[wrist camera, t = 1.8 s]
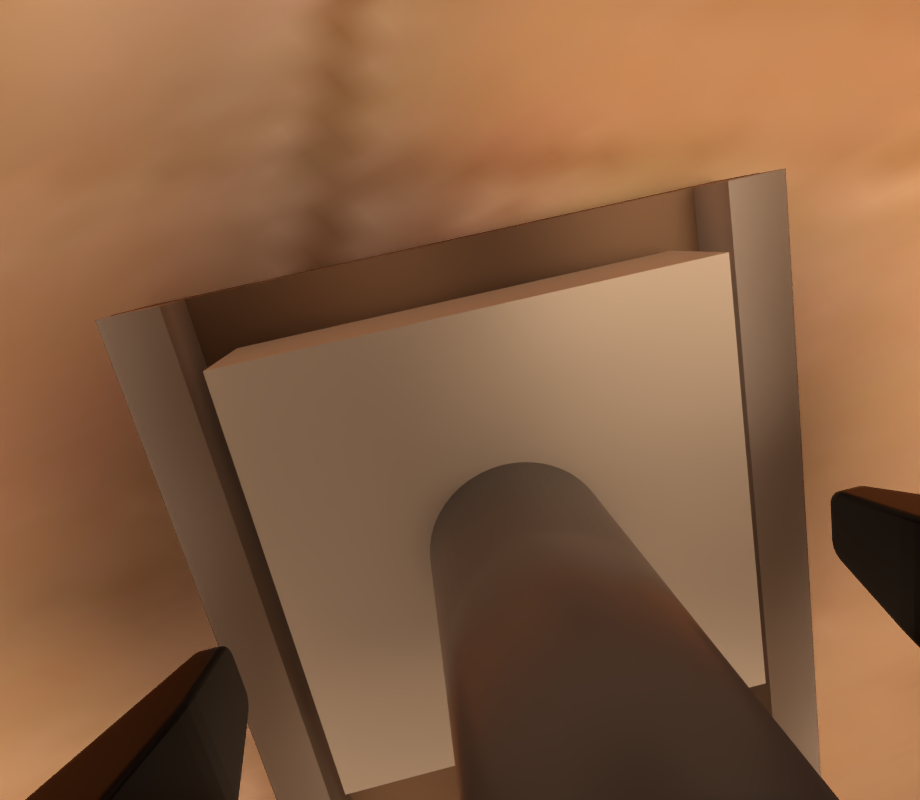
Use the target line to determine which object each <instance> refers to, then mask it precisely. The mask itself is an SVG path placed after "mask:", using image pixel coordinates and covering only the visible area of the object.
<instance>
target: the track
mask: <svg viewBox="0 0 920 800" xmlns="http://www.w3.org/2000/svg"><path fill="white" fill-rule="evenodd" d="M666 251H701V252H729V258H730V270H731V282H732V294H733V305H734V317H735V329H736V341H737V352H738V364H739V376H740V387H741V399H742V411H743V423H744V434H745V446H746V458H747V470H748V481H749V493H750V505H751V516H752V528H753V540H754V552H755V563H756V575H757V587H758V599H759V610H760V622H761V634H762V645H763V657H764V669H765V681H766V683H765V684H761V685H757V686H753V687H750V689H751V691H752V692H753V693H754V694H755V696H756V697H757V698H758V699H759V701H760V702H761V703H762V704H763V706H764V707H765V708H766V709H767V711H768V712H769V713H770V714H771V716H772V717H773V718H774V719H775V721H776V722H777V723H778V724H779V726H780V727H781V728H782V729H783V730H784V732H785V733H786V734H787V735H788V737H789V738H790V739H791V740H792V742H793V743H794V744H795V745H796V747H797V748H798V749H799V750H800V752H801V753H802V754H803V755H804V757H805V758H806V759H807V760H808V762H809V763H810V764H811V765H812V767H813V768H814V769H815V770H816V772H817V773H818V774H819V775H820V777H821V772H820V755H819V737H818V720H817V703H816V686H815V668H814V651H813V634H812V617H811V599H810V582H809V565H808V548H807V531H806V513H805V496H804V479H803V462H802V444H801V427H800V410H799V393H798V375H797V358H796V341H795V324H794V306H793V289H792V272H791V255H790V237H789V220H788V203H787V186H786V168H785V169H780V170H774V171H769V172H764V173H756V174H751V175H746V176H741V177H735V178H730V179H725V180H720V181H715V182H710V183H706V184H701V185H697V186H692V187H688V188H683V189H678V190H674V191H669V192H665V193H660V194H656V195H651V196H647V197H642V198H638V199H633V200H628V201H624V202H619V203H615V204H610V205H606V206H601V207H597V208H592V209H588V210H583V211H578V212H574V213H569V214H565V215H560V216H556V217H551V218H547V219H542V220H538V221H533V222H528V223H524V224H519V225H515V226H510V227H506V228H501V229H497V230H492V231H488V232H483V233H479V234H474V235H469V236H465V237H460V238H456V239H451V240H447V241H442V242H438V243H433V244H429V245H424V246H419V247H415V248H410V249H406V250H401V251H397V252H392V253H388V254H383V255H379V256H374V257H369V258H365V259H360V260H356V261H351V262H347V263H342V264H338V265H333V266H329V267H324V268H319V269H315V270H310V271H306V272H301V273H297V274H292V275H288V276H283V277H279V278H274V279H269V280H265V281H260V282H256V283H251V284H247V285H242V286H238V287H233V288H229V289H224V290H219V291H215V292H210V293H206V294H201V295H197V296H192V297H188V298H183V299H179V300H174V301H169V302H165V303H160V304H156V305H151V306H147V307H143V308H139V309H135V310H131V311H127V312H123V313H119V314H115V315H112V316H110V317H107V318H103V319H99V320H95V321H96V324H97V326H98V329H99V332H100V334H101V337H102V339H103V342H104V345H105V347H106V350H107V353H108V355H109V358H110V361H111V363H112V366H113V369H114V371H115V374H116V376H117V379H118V382H119V384H120V387H121V390H122V392H123V395H124V398H125V400H126V403H127V406H128V408H129V411H130V413H131V416H132V419H133V421H134V424H135V427H136V429H137V432H138V435H139V437H140V440H141V443H142V445H143V448H144V450H145V453H146V456H147V458H148V461H149V464H150V466H151V469H152V472H153V474H154V477H155V480H156V482H157V485H158V487H159V490H160V493H161V495H162V498H163V501H164V503H165V506H166V509H167V511H168V514H169V517H170V519H171V522H172V524H173V527H174V530H175V532H176V535H177V538H178V540H179V543H180V546H181V548H182V551H183V554H184V556H185V559H186V561H187V564H188V567H189V569H190V572H191V575H192V577H193V580H194V583H195V585H196V588H197V591H198V593H199V596H200V598H201V601H202V604H203V606H204V609H205V612H206V614H207V617H208V620H209V622H210V625H211V628H212V630H213V633H214V635H215V638H216V641H217V643H218V646H219V647H220V646H225V647H227V648H229V650H230V651H231V652H232V654H233V657H234V659H235V662H236V665H237V667H238V670H239V673H240V675H241V678H242V681H243V684H244V686H245V689H246V692H247V696H248V703H249V711H248V720H247V723H248V725H249V728H250V731H251V733H252V736H253V738H254V741H255V744H256V746H257V749H258V752H259V754H260V757H261V760H262V762H263V765H264V768H265V770H266V773H267V775H268V778H269V781H270V783H271V786H272V789H273V791H274V794H275V797H276V799H277V800H459V795H458V786H457V778H456V770H455V766H452V767H448V768H444V769H441V770H437V771H433V772H429V773H425V774H422V775H418V776H414V777H410V778H407V779H403V780H399V781H395V782H391V783H388V784H384V785H380V786H376V787H373V788H369V789H365V790H361V791H358V792H354V793H350V794H346V795H345V792H344V789H343V786H342V783H341V780H340V777H339V774H338V771H337V768H336V765H335V762H334V759H333V757H332V754H331V751H330V748H329V745H328V742H327V739H326V736H325V733H324V730H323V727H322V724H321V721H320V718H319V715H318V712H317V709H316V706H315V703H314V700H313V697H312V694H311V691H310V688H309V685H308V682H307V679H306V676H305V673H304V670H303V668H302V665H301V662H300V659H299V656H298V653H297V650H296V647H295V644H294V641H293V638H292V635H291V632H290V629H289V626H288V623H287V620H286V617H285V614H284V611H283V608H282V605H281V602H280V599H279V596H278V593H277V590H276V587H275V584H274V581H273V578H272V576H271V573H270V570H269V567H268V564H267V561H266V558H265V555H264V552H263V549H262V546H261V543H260V540H259V537H258V534H257V531H256V528H255V525H254V522H253V519H252V516H251V513H250V510H249V507H248V504H247V501H246V498H245V495H244V492H243V489H242V487H241V484H240V481H239V478H238V475H237V472H236V469H235V466H234V463H233V460H232V457H231V454H230V451H229V448H228V445H227V442H226V439H225V436H224V433H223V430H222V427H221V424H220V421H219V418H218V415H217V412H216V409H215V406H214V403H213V400H212V398H211V395H210V392H209V389H208V386H207V383H206V380H205V377H204V374H203V371H204V370H206V369H207V368H209V367H210V366H212V365H213V364H214V363H216V362H217V361H219V360H220V359H222V358H223V357H225V356H226V355H228V354H229V353H231V352H232V351H234V350H235V349H237V348H240V347H245V346H249V345H253V344H258V343H262V342H267V341H271V340H276V339H280V338H284V337H289V336H293V335H298V334H302V333H307V332H311V331H316V330H320V329H324V328H329V327H333V326H338V325H342V324H347V323H351V322H356V321H360V320H364V319H369V318H373V317H378V316H382V315H387V314H391V313H395V312H400V311H404V310H409V309H413V308H418V307H422V306H427V305H431V304H435V303H440V302H444V301H449V300H453V299H458V298H462V297H467V296H471V295H475V294H480V293H484V292H489V291H493V290H498V289H502V288H506V287H511V286H515V285H520V284H524V283H529V282H533V281H538V280H542V279H546V278H551V277H555V276H560V275H564V274H569V273H573V272H578V271H582V270H586V269H591V268H595V267H600V266H604V265H609V264H613V263H617V262H622V261H626V260H631V259H635V258H640V257H644V256H649V255H653V254H657V253H662V252H666Z"/></svg>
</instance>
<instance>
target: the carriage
mask: <svg viewBox="0 0 920 800" xmlns="http://www.w3.org/2000/svg"><path fill="white" fill-rule="evenodd" d="M203 374H204V377H205V380H206V383H207V386H208V389H209V392H210V395H211V398H212V400H213V403H214V406H215V409H216V412H217V415H218V418H219V421H220V424H221V427H222V430H223V433H224V436H225V439H226V442H227V445H228V448H229V451H230V454H231V457H232V460H233V463H234V466H235V469H236V472H237V475H238V478H239V481H240V484H241V487H242V489H243V492H244V495H245V498H246V501H247V504H248V507H249V510H250V513H251V516H252V519H253V522H254V525H255V528H256V531H257V534H258V537H259V540H260V543H261V546H262V549H263V552H264V555H265V558H266V561H267V564H268V567H269V570H270V573H271V576H272V578H273V581H274V584H275V587H276V590H277V593H278V596H279V599H280V602H281V605H282V608H283V611H284V614H285V617H286V620H287V623H288V626H289V629H290V632H291V635H292V638H293V641H294V644H295V647H296V650H297V653H298V656H299V659H300V662H301V665H302V668H303V670H304V673H305V676H306V679H307V682H308V685H309V688H310V691H311V694H312V697H313V700H314V703H315V706H316V709H317V712H318V715H319V718H320V721H321V724H322V727H323V730H324V733H325V736H326V739H327V742H328V745H329V748H330V751H331V754H332V757H333V759H334V762H335V765H336V768H337V771H338V774H339V777H340V780H341V783H342V786H343V789H344V792H345V795H346V794H350V793H354V792H358V791H361V790H365V789H369V788H373V787H376V786H380V785H384V784H388V783H391V782H395V781H399V780H403V779H407V778H410V777H414V776H418V775H422V774H425V773H429V772H433V771H437V770H441V769H444V768H448V767H452V766H455V770H456V778H457V786H458V795H459V800H839V799H838V798H837V797H836V795H835V794H834V793H833V792H832V790H831V789H830V788H829V787H828V785H827V784H826V783H825V782H824V780H823V779H822V778H821V777H820V775H819V774H818V773H817V772H816V770H815V769H814V768H813V767H812V765H811V764H810V763H809V762H808V760H807V759H806V758H805V757H804V755H803V754H802V753H801V752H800V750H799V749H798V748H797V747H796V745H795V744H794V743H793V742H792V740H791V739H790V738H789V737H788V735H787V734H786V733H785V732H784V730H783V729H782V728H781V727H780V726H779V724H778V723H777V722H776V721H775V719H774V718H773V717H772V716H771V714H770V713H769V712H768V711H767V709H766V708H765V707H764V706H763V704H762V703H761V702H760V701H759V699H758V698H757V697H756V696H755V694H754V693H753V692H752V691H751V689H750V687H753V686H757V685H761V684H765V683H766V681H765V669H764V657H763V645H762V634H761V622H760V610H759V599H758V587H757V575H756V563H755V552H754V540H753V528H752V516H751V505H750V493H749V481H748V470H747V458H746V446H745V434H744V423H743V411H742V399H741V387H740V376H739V364H738V352H737V341H736V329H735V317H734V305H733V294H732V282H731V270H730V258H729V252H701V251H666V252H662V253H657V254H653V255H649V256H644V257H640V258H635V259H631V260H626V261H622V262H617V263H613V264H609V265H604V266H600V267H595V268H591V269H586V270H582V271H578V272H573V273H569V274H564V275H560V276H555V277H551V278H546V279H542V280H538V281H533V282H529V283H524V284H520V285H515V286H511V287H506V288H502V289H498V290H493V291H489V292H484V293H480V294H475V295H471V296H467V297H462V298H458V299H453V300H449V301H444V302H440V303H435V304H431V305H427V306H422V307H418V308H413V309H409V310H404V311H400V312H395V313H391V314H387V315H382V316H378V317H373V318H369V319H364V320H360V321H356V322H351V323H347V324H342V325H338V326H333V327H329V328H324V329H320V330H316V331H311V332H307V333H302V334H298V335H293V336H289V337H284V338H280V339H276V340H271V341H267V342H262V343H258V344H253V345H249V346H245V347H240V348H237V349H235V350H234V351H232V352H231V353H229V354H228V355H226V356H225V357H223V358H222V359H220V360H219V361H217V362H216V363H214V364H213V365H212V366H210V367H209V368H207V369H206V370H204V371H203Z"/></svg>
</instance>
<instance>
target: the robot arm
mask: <svg viewBox="0 0 920 800" xmlns="http://www.w3.org/2000/svg"><path fill="white" fill-rule="evenodd" d="M831 521H832V541H833V546H834V549H835V551H836V554H837V555H838V557H839V558H840V560H841V561H842V562H843V563H844V564H845V565H846V567H847V568H848V569H849V570H850V571H851V572H852V573H853V574H854V576H855V577H856V578H857V579H858V580H859V581H860V582H861V583H862V585H863V586H864V587H865V588H866V589H867V590H868V591H869V592H870V594H871V595H872V596H873V597H874V598H875V599H876V600H877V601H878V603H879V604H880V605H881V606H882V607H883V608H884V609H885V610H886V612H887V613H888V614H889V615H890V616H891V617H892V618H893V619H894V621H895V622H896V623H897V624H898V625H899V626H900V627H901V628H902V630H903V631H904V632H905V633H906V634H907V635H908V636H909V637H910V638H911V639H912V640H913V641H914V642H915V643H916V644H917V645H918V646H919V647H920V494H914V493H907V492H900V491H894V490H887V489H880V488H873V487H867V486H859V487H854V488H850V489H846V490H842V491H839V492H836V493H835V494H834V495H833V496H832V499H831ZM248 711H249V703H248V696H247V692H246V689H245V686H244V684H243V681H242V678H241V675H240V673H239V670H238V667H237V665H236V662H235V659H234V657H233V654H232V652H231V651H230V650H229V648H227V647H225V646H220V647H216V648H212V649H208V650H204V651H200V652H198V653H196V654H194V655H193V656H192V657H191V658H190V659H188V660H187V661H186V662H185V663H184V664H183V665H181V666H180V667H179V668H178V669H177V670H176V671H174V672H173V673H172V674H171V675H170V676H169V677H167V678H166V679H165V680H164V681H163V682H162V683H160V684H159V685H158V686H157V687H156V688H155V689H153V690H152V691H151V692H150V693H149V694H148V695H146V696H145V697H144V698H143V699H142V700H141V701H140V702H138V703H137V704H136V705H135V706H134V707H133V708H131V709H130V710H129V711H128V712H127V713H126V714H124V715H123V716H122V717H121V718H120V719H119V720H117V721H116V722H115V723H114V724H113V725H112V726H110V727H109V728H108V729H107V730H106V731H105V732H103V733H102V734H101V735H100V736H99V737H98V738H96V739H95V740H94V741H93V742H92V743H91V744H89V745H88V746H87V747H86V748H85V749H84V750H83V751H81V752H80V753H79V754H78V755H77V756H76V757H74V758H73V759H72V760H71V761H70V762H69V763H67V764H66V765H65V766H64V767H63V768H62V769H60V770H59V771H58V772H57V773H56V774H55V775H53V776H52V777H51V778H50V779H49V780H48V781H46V782H45V783H44V784H43V785H42V786H41V787H39V788H38V789H37V790H36V791H35V792H34V793H32V794H31V795H30V796H29V797H28V798H27V799H26V800H238V797H239V788H240V780H241V771H242V763H243V754H244V746H245V737H246V729H247V720H248Z"/></svg>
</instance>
